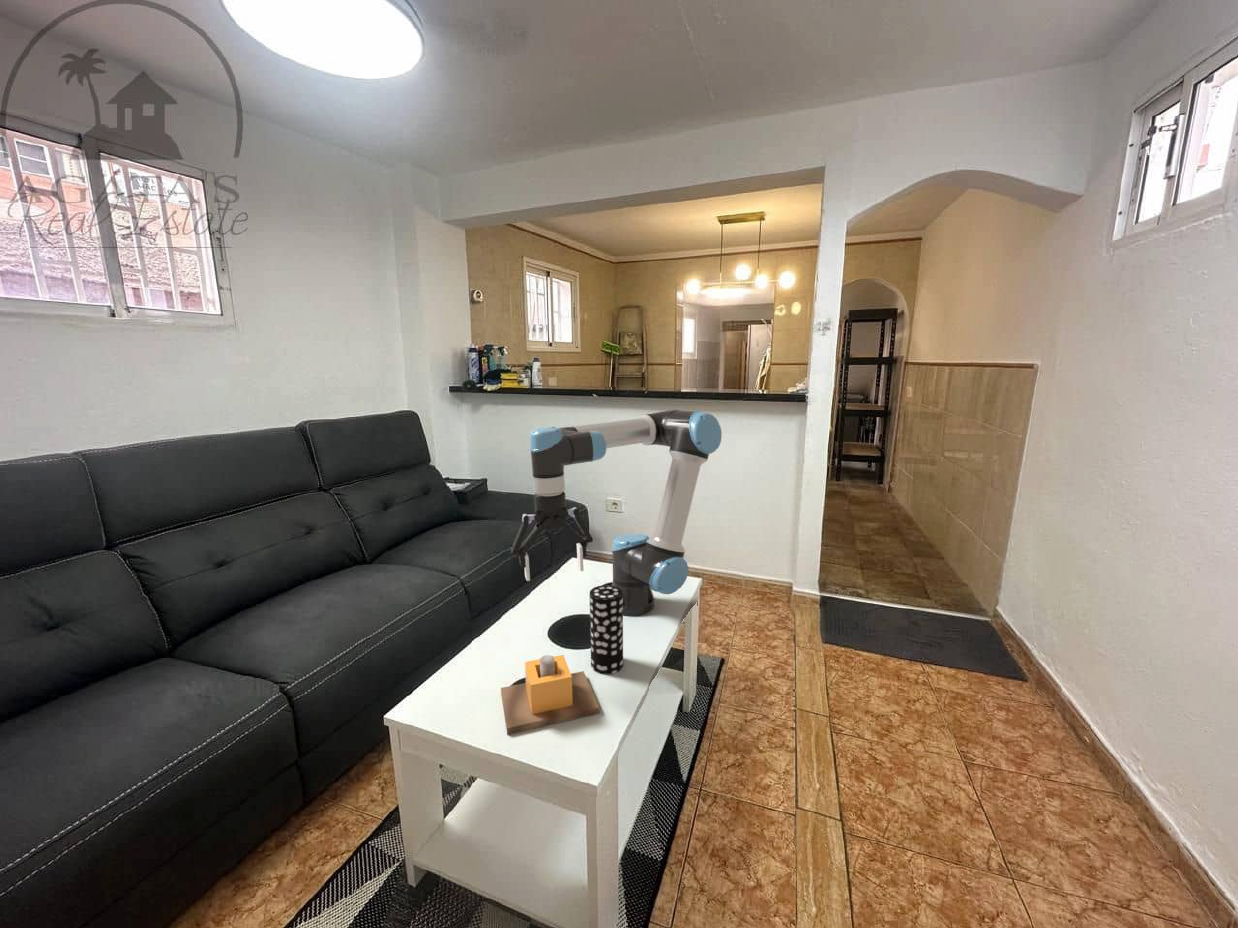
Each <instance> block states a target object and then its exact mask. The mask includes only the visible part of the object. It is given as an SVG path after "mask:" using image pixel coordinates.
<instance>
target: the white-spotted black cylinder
mask: <svg viewBox="0 0 1238 928" xmlns="http://www.w3.org/2000/svg"><path fill="white" fill-rule="evenodd" d="M589 627H590V628H589V631H590V634H589V635H590V668H591V669H592V670H593V671H594V672H596V673H597V674H601V675H611V674H616V673H618V672H620V670H622V668H623V667H624V615H623V591H622V589H620V588H619V587H616V586H612V584H603V585H602V584H601V585H598V586H595V587H593V588H591V589H590V591H589Z"/></svg>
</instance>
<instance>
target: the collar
mask: <svg viewBox="0 0 1238 928" xmlns="http://www.w3.org/2000/svg"><path fill="white" fill-rule="evenodd" d="M553 657H554V664H555V675H551V676H546V677H541V675H540V658H539V659H533V660H529V661H525V662H524V671H525V683H526V691H527V695H528V699H529V704H530V708H531V712H532V714H536V713H540V712H545V711H549V710H554V709H558V708H563V707H567V706H572V705H573V700H572V676H571V674H572V673H571V672H570V668H569V667H568V664H567V661H566V659H565V656H564V654H561V655H555V656H553Z"/></svg>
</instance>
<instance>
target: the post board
mask: <svg viewBox="0 0 1238 928" xmlns="http://www.w3.org/2000/svg"><path fill="white" fill-rule="evenodd" d="M539 659H540V675H541V677H546V676H551V675H555V664H554V656H552V655H550V654H547V655H543V656H541V657H540V658H539ZM571 676H572V700H573V705H572V706H567V707H563V708H558V709H554V710H549V711H545V712H540V713H536V714H532V712H531V708H530V704H529V699H528V695H527V691H526V682H523V683H518V684H514V685H509V686H504V687H501V688H500V696H501V701H502V708H503V714H504V722H505V727H506V736H507V735H511V734H517V733H520V732H525V731H529V730H533V729H537V728H542V727H545V726H551V725H554V724H555V725H556V724H559V723H563V722H568V721H572V720H577V719H581V718H585V717H590V716H593V715H599V714H600V706H599V703H598V701H597V699H596V696H595V694H594V692H593V689H592V688H591V687H592V686H591V685H590V683H589V680H588V679H587V675H586V673H585V672H584V671H577V672H573V673H571Z"/></svg>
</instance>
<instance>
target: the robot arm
mask: <svg viewBox="0 0 1238 928" xmlns="http://www.w3.org/2000/svg"><path fill="white" fill-rule="evenodd" d="M719 422H720V421H719V420H718V419H717V418H716V416H714V415H713V414H711V413H709V412H708V413H707V412H705V411H699V410H696V411H695V410H692V411H690V410H679V409H670V410H664V411H659V412H652V413H647V414H646V413H645V414H642V415H640V416H639V417H638V418H633V419H625V420H623V419H622V420H616V421H614V420H613V421H608V422H607V421H606V422H599V423H590V424H581V425H573V426H564V427H555V426H551V427H550V426H549V427H541V428H536V429H534V430H532V431H531V432H530V435H529V436H530V439H529V440H530V441H529V442H530V443H529V445H530V447H529V450H530V457H531V468H532V469H531V470H532V482H533V492H534V495H533V499H534V501H533V502H534V513H533V514H527V513H522V515H521V524H520V525H519V529H518V531H517V533H516V535H515V537H514V540H513V543H512V544H511V545H512V546H511V548H510V551H511V554H512V555H518V559H519V565H520V567H521V569H523V568H524V577H525V580H526V581H527V582H530V581H531V575H530V573H531V572H530V558H529V554H528V553H527V552H528V551H529V550H530V548H531V547H532V546H533V544H534V542H536V540H537V538H538V537H539V536H540V534H542V532H544V530H545V531H546V532H549V531H551V530H559V529H560V528H564V530H565V531H567V532H568V533H569V534H570V535H571V536H572V537H573V538H574V539H575V540H576V541H578V543H576V558H577V559H576V560H577V568H578V570H579V571H580V572H584V558H586V557H587V546H588V544H589V543H592V542H593V541H594V538H593V537H592V535H591V533H590V531H589V530H588V528H587V527H586V525H585V523H584V521H583V520H582V518H581V515H580V510H579V509H578V508H577V507H576V506H573V507H571V508H570V509H567V503H566V492H564V491H565V489H566V486H565V466H571V465H575V464H582V463H583V464H584V463H589V462H590V463H592V462H594V461H599V460H601V459H603V458H604V456H605V455H606V453H607V449H611V448H615V447H616V448H619V447H625V446H630V445H636V444H642V445H644V446H652V445H653V446H656V445H657V446H665V447H669V450H668V452H669V454H670V456H671V458H672V461H671V463H670V468H669V472H668V474H667V479H666V483H665V487H664V490H663V491H664V492H663V495H662V500H661V503H660V507H659V511H658V515H657V518H656V519H657V520H656V524H655V529H654V531H653V535H652V537H650V538H649V536H648V535H646V534H641V533H631V534H630V533H629V534H624V535H619V536H617V537H616V538H614V539H613V541H612V548H611V552H612V553H611V554H612V555H611V556H612V583H611V585H612V586H616V587H619V588H620V589H622V591H623V616H633V617H634V616H640V615H645V614H647V613H650V612H651V611H652V610H653V609H654V607H655V596H654V594H653V591H654V592H656V593H657V592H658V593H659V594H662V595H671V594H674V593H675V592H677V591H678V590H679V589H680V588H682V587H683V585H684V584H685V583H686V581H687V579H688V575H689V565H688V562H687V561H686V560H685V558H684V555H685V553H686V549H685V548H684V545H683V538H684V535H685V530H686V526H687V523H688V518H689V514H690V510H691V505H692V503H693V502H692V501H693V498H694V494H695V490H696V486H697V482H698V478H699V473H700V470H701V466H702V465H703V464H705V463H707V462H708V459H709V456H710V454H713V453H715V452H716V451H717V450H718V449H719V448H720V445H721V443H722V436H723V435H722V433H723V432H722V427H721V425H720V423H719ZM569 516H570V517H571V518H573V519H574V521H575V523H576V524H577V525H578V527H579V529H580V531H581V533H582V535H584V537H582V536H581V535H580V534H579V533H578V532H577V531H575V530H574V529H573V528H572V527H571V526H570V525H569V524H568V523H567V522H566V519H567V518H568V517H569ZM532 521H535V522H536V524H535V525H534V527H533V529H532V530H531V532H529V534H528V535H527V537H526V538H525V535H526V533H527V531H528V528H529V525H530V524H532ZM524 538H525V540H524ZM523 540H524V541H523Z"/></svg>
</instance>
